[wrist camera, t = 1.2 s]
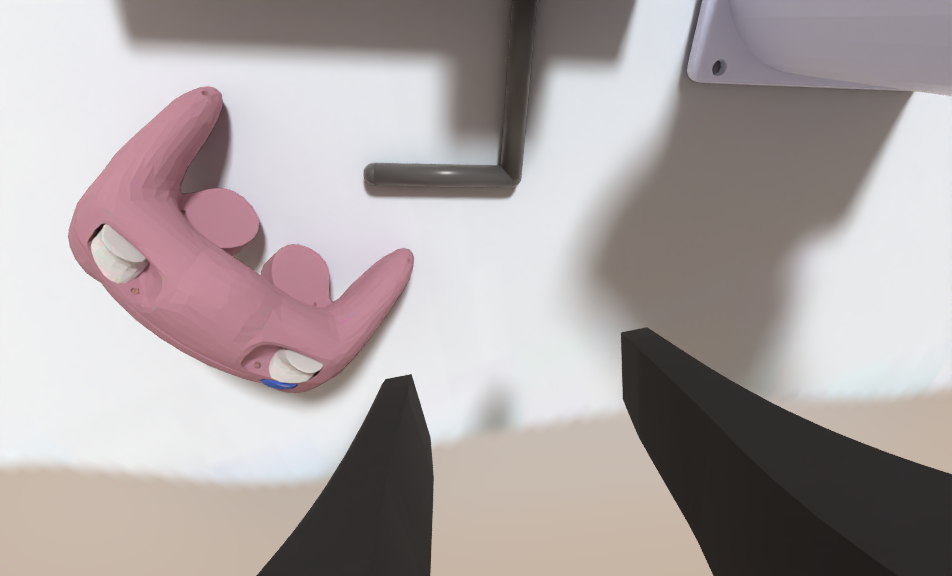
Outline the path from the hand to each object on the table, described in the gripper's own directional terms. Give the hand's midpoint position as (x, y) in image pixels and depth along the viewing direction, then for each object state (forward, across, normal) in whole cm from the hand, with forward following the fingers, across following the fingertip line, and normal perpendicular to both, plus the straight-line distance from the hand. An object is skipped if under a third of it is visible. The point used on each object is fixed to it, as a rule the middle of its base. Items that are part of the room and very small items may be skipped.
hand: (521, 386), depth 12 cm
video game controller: (+10, +8, -2) cm, 12 cm away
